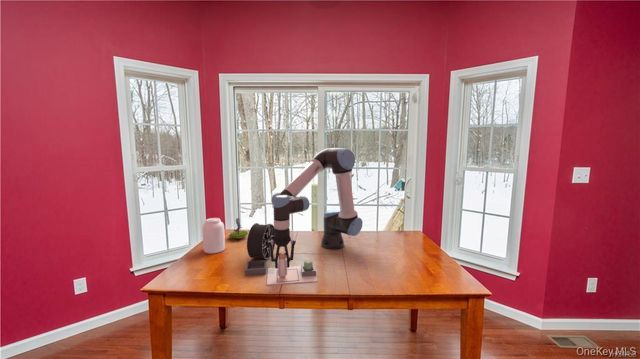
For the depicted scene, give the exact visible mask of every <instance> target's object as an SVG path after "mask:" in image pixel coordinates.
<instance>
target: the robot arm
mask: <svg viewBox="0 0 640 359" xmlns="http://www.w3.org/2000/svg"><path fill="white" fill-rule="evenodd" d="M355 164H356V157H355V154H354V152H353V151H352V150H351V149H349V148H345V147H342V148H341V147H333V148H332V147H329V148H324V149H323V150H321V151H319V152H318V153H317V154H315V155H314V156H313V157H312V158H311V159H310V161H309V164H308V165H307V166H305V167H304V169H302V171H301V172H299V173H298V174H297V176H296V177H295V178H293V180H292V181H291V182H289V183H288V185H287V186H286V187H285V188H283V190H281V191H280V192H276V193H274V194H273V195H272V196H271V204H272V205H273V226H274V238H273V240H271V241H270V240H269V241H268V244H269V246H270V253H271V257H270V259H271V260H270V261H271V262H273V263H274V264H275V265H274V266H275V267H274V268H276V269H277V268H278V276H279V253H280V248H282V247H283V248H284V252H285V253H286V275H287V268H289V267H291V266H290V262H291V261H293V260H294V254H295V253H294V252H295V245H296V242H297V241H296V239H295V238H294V239H293V238H291V231H290V230H291V229H290V227H291V226H290V224H291V223H290V221H291V220H290V216H291V214H297V213H301V212H305V211H307V210H308V209H309V207H310V200H309V198H308V197H307V196H304V195H303V196H302V195H301V196H298V195H299V194H300V193H301V192H302V191H303V190H304V189H305V187H307V186H308V185H309V183H311V181H312V180H313V179H314V178H315V177H316V176H317V175H318V174H319V173H321V172H323V171H324V170H325V169H328V168H329V169H331V172H332V174H333V175H335V182H336V190H337V197H338V203H339V209H334V210H333V209H331V210H326V211H325V212H324V214H323V235H322V237H321V241H320V245H321V247H322V248H325V249H329V250H337V249H341V248H344V246H345V241H344V237H343V235H342V234H344V235H348V236H351V237H356V236H357V235H359V234H360V232H361V230H362V228H363V220H362V218H361V217H359V216H358V211H356V210H355V204H354V196H353V186H352V179H351V172H352V171H353V168H354V167H355ZM273 242H274V243H275V246H276V252H275V254H274V251H273ZM289 244H291V246H290V247H291V248H290V255H289V249H288V245H289ZM274 255H275V256H274Z"/></svg>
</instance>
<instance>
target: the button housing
mask: <svg viewBox="0 0 640 359" xmlns="http://www.w3.org/2000/svg"><path fill="white" fill-rule="evenodd" d="M300 266H301V274H302V277H305V276H316V277H317V271H316V267H315V264H313V270H310V271H304V265H300Z"/></svg>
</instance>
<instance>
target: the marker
mask: <svg viewBox="0 0 640 359" xmlns="http://www.w3.org/2000/svg"><path fill="white" fill-rule="evenodd" d="M278 260H279V278H281V279H283V278H285V277H286V260H287V258H286V253H285V251H283V252H279V256H278Z"/></svg>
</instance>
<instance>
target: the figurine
mask: <svg viewBox="0 0 640 359" xmlns="http://www.w3.org/2000/svg"><path fill="white" fill-rule="evenodd" d="M235 223H236V225H237V228H236V229H233V231H234V232H233V231H232V232H230V233H229V235H228V237H230V238H231V239H232V238H234V239H235V240H236V239H237V240H239V239H242V238H244V237H246V236H248V234H249V232H248V231H247V230H240V229H242V227H241V223H240V217H239V218H237V217H236V219H235Z"/></svg>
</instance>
